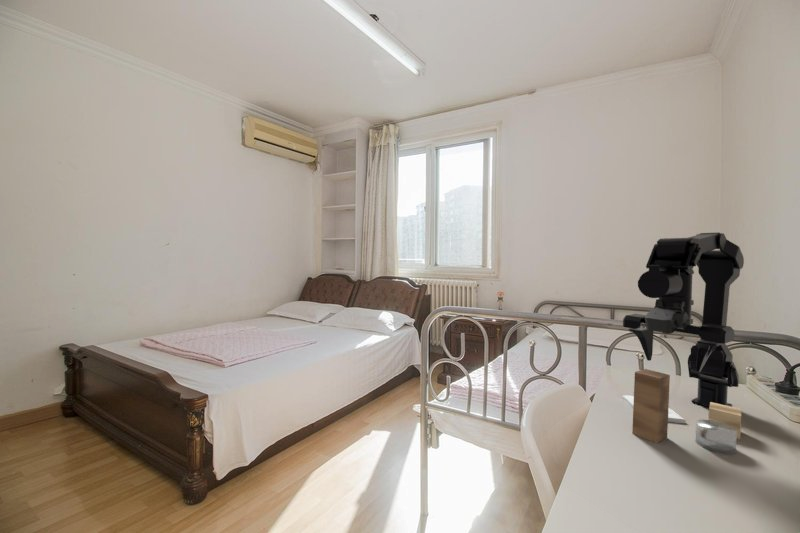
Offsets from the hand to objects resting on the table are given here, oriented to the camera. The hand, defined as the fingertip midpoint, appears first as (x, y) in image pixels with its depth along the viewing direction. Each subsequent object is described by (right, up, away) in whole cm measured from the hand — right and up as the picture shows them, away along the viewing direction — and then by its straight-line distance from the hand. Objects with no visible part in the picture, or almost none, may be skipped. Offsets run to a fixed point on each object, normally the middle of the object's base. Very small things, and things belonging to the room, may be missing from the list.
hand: (672, 365), depth 78 cm
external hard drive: (+1, -14, +8) cm, 16 cm away
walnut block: (-8, -13, -5) cm, 16 cm away
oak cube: (+10, -14, -2) cm, 17 cm away
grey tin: (+2, -14, -8) cm, 16 cm away
